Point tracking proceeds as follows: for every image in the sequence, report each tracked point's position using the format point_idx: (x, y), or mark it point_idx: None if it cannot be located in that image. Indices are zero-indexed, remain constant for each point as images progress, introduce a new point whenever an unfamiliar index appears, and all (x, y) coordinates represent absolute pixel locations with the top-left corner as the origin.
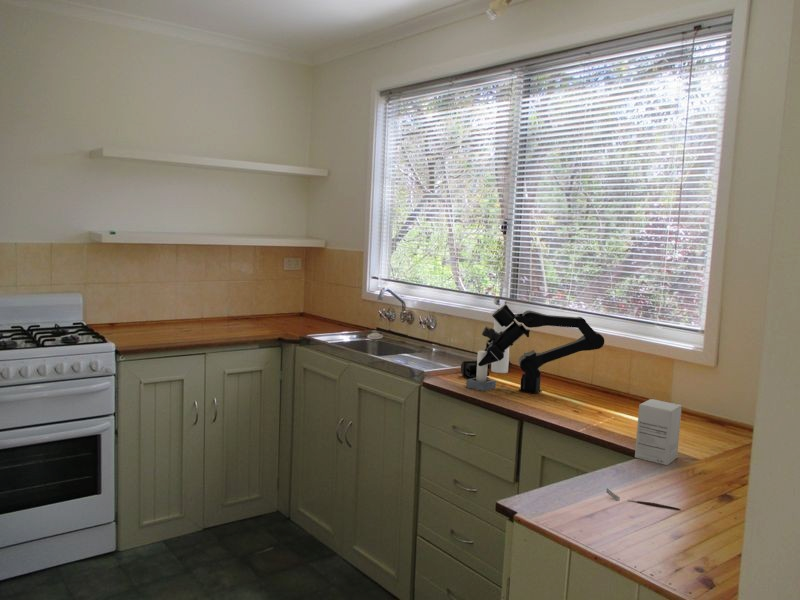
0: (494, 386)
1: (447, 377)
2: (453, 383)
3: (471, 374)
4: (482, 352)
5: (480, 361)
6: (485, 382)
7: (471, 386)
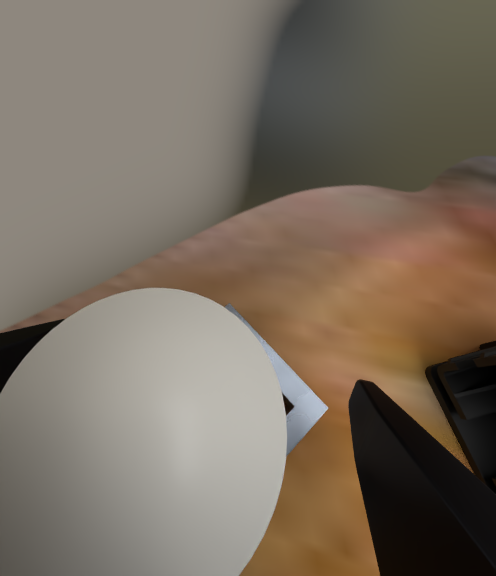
0: None
1: (436, 264)
2: (310, 271)
3: (475, 389)
4: (18, 373)
5: (8, 332)
6: None
7: None
